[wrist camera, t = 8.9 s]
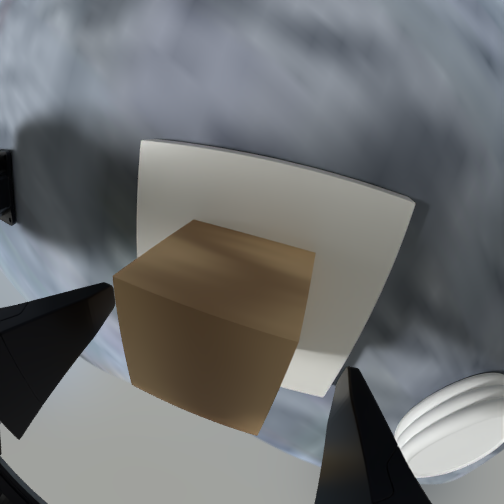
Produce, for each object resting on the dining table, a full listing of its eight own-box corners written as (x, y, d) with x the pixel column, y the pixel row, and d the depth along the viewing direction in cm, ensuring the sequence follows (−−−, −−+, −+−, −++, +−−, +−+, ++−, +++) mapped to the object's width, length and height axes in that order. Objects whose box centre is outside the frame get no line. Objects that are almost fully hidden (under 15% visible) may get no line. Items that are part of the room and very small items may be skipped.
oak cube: (186, 314, 13) (131, 384, 9) (193, 219, 11) (112, 276, 7) (284, 346, 12) (257, 435, 8) (315, 252, 10) (298, 342, 6)
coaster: (383, 402, 14) (384, 448, 11) (518, 345, 10) (537, 383, 7) (402, 455, 16) (401, 488, 13) (501, 417, 12) (509, 448, 9)
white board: (151, 325, 16) (142, 335, 15) (154, 138, 11) (141, 140, 10) (324, 384, 14) (323, 397, 13) (408, 197, 9) (415, 203, 8)
